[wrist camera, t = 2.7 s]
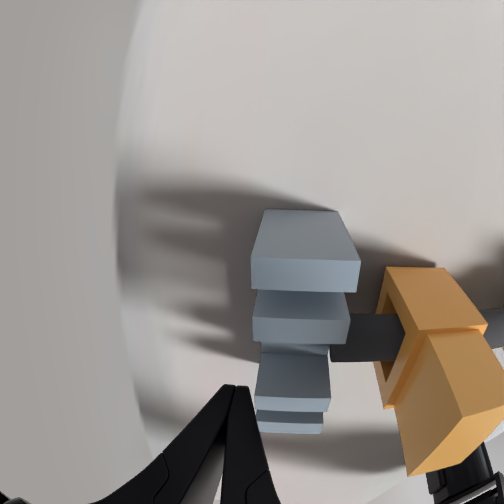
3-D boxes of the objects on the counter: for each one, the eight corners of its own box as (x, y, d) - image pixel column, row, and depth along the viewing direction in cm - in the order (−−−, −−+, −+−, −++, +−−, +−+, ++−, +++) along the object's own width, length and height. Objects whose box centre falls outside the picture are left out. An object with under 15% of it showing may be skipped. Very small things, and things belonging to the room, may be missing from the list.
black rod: (545, 296, 10) (562, 315, 8) (532, 324, 11) (547, 343, 9) (334, 304, 12) (339, 335, 10) (328, 339, 13) (331, 372, 11)
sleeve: (444, 267, 12) (530, 392, 4) (420, 339, 13) (465, 462, 6) (385, 266, 12) (454, 416, 5) (367, 341, 14) (395, 480, 7)
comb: (338, 211, 12) (361, 260, 8) (317, 367, 15) (319, 433, 11) (265, 209, 12) (250, 257, 8) (264, 365, 16) (255, 431, 12)
